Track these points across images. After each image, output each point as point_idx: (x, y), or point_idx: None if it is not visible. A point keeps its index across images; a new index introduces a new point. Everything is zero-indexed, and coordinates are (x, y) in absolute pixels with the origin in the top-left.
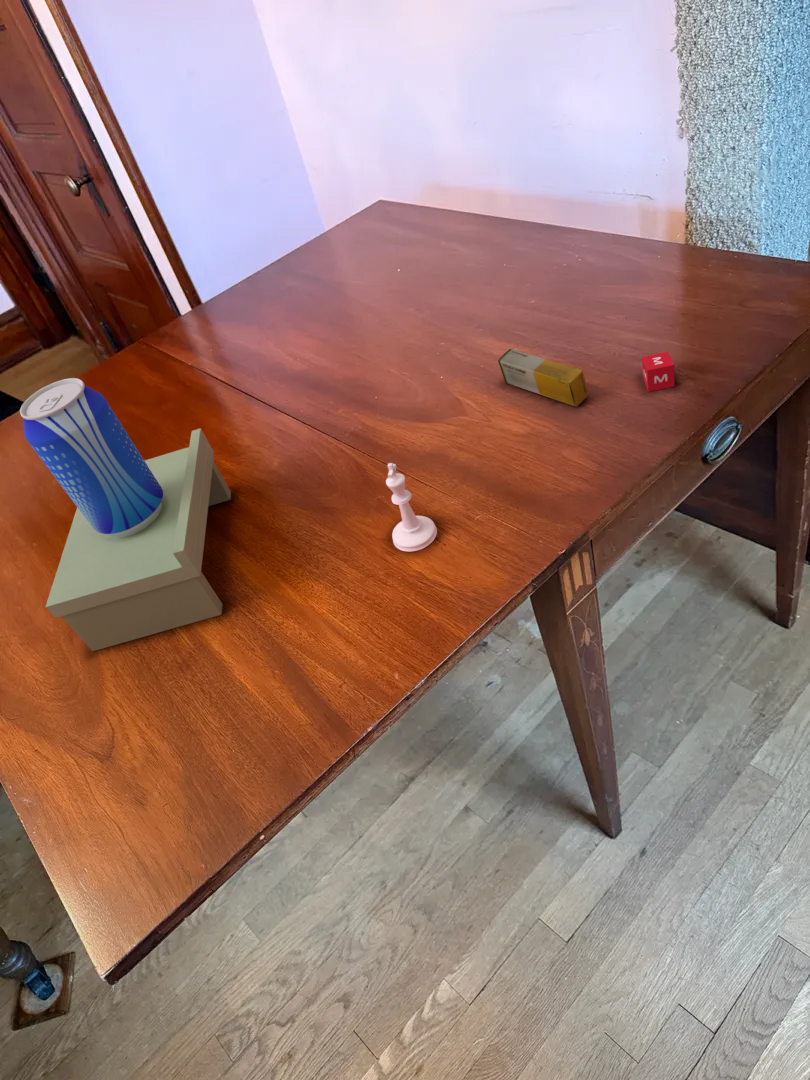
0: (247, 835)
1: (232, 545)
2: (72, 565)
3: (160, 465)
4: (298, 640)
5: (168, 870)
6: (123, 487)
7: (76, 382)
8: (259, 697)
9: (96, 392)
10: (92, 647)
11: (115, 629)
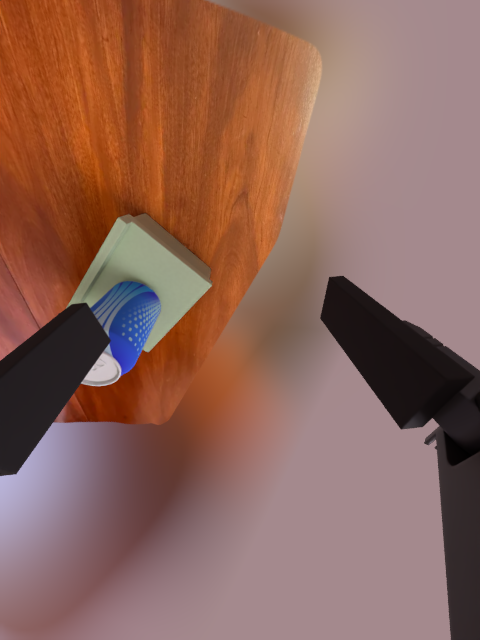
0: (228, 10)
1: None
2: (185, 299)
3: None
4: (114, 128)
5: (271, 63)
6: (118, 294)
7: None
8: (160, 117)
9: None
10: (209, 268)
11: (194, 259)
